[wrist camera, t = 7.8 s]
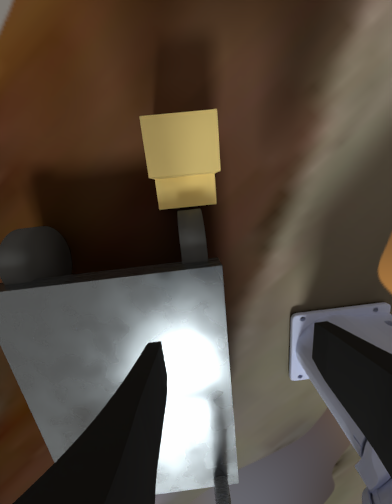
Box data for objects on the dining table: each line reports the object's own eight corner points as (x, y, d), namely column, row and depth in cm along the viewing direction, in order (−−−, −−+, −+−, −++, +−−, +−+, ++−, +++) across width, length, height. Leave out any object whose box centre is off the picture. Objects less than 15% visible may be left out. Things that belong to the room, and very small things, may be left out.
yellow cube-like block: (207, 132, 16) (216, 108, 11) (212, 201, 17) (222, 207, 12) (153, 137, 16) (139, 116, 11) (162, 206, 17) (154, 214, 12)
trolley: (206, 204, 17) (353, 321, 2) (226, 415, 24) (292, 784, 9) (31, 224, 17) (-1090, 501, 2) (102, 431, 24) (-35, 837, 9)
